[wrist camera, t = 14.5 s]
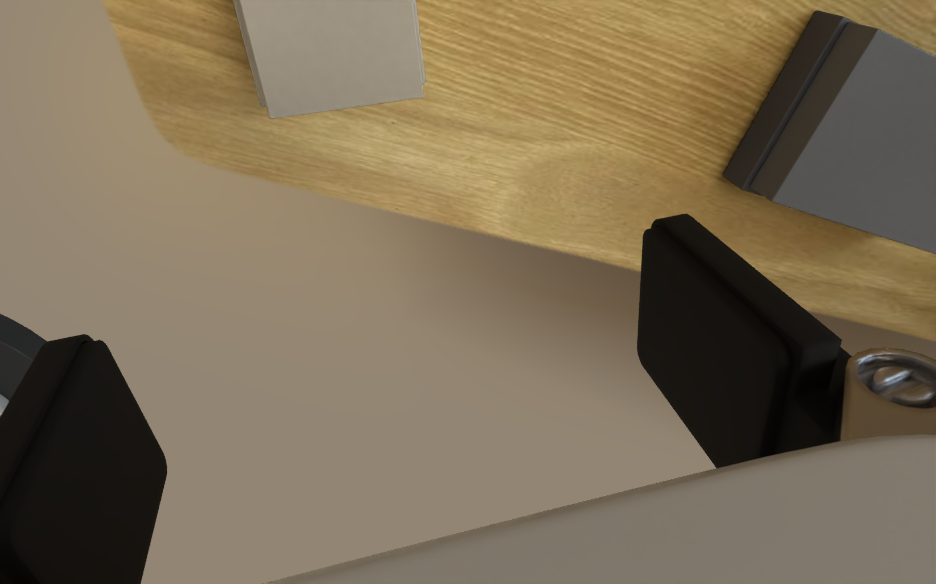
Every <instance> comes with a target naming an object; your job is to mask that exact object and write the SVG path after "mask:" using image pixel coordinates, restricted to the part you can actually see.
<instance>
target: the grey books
mask: <svg viewBox="0 0 936 584" xmlns="http://www.w3.org/2000/svg"><path fill="white" fill-rule="evenodd" d="M723 177H725V178H726V179H728V180H729V181H730V182H732V183H733V184H735V185H736V186H738V187H739V188H740V189H742V190H745V191H748V192H751V193H754V194H758V195H761V196H764V197H765V198H767V199H768V200H770V201H771V202H774V203H777V204H780V205H783V206H786V207H790V208H793V209H796V210H799V211H802V212H805V213H809V214H812V215H815V216H818V217H821V218H824V219H827V220H831V221H834V222H837V223H840V224H843V225H846V226H849V227H853V228H856V229H859V230H862V231H865V232H868V233H871V234H875V235H878V236H881V237H884V238H887V239H890V240H893V241H897V242H900V243H903V244H906V245H909V246H912V247H915V248H919V249H922V250H925V251H928V252H931V253H934V254H936V56H934V55H932V54H930V53H928V52H926V51H924V50H922V49H919V48H917V47H915V46H913V45H911V44H909V43H907V42H905V41H903V40H901V39H899V38H896V37H894V36H892V35H890V34H888V33H886V32H884V31H882V30H880V29H877V28H873V27H869V26H865V25H861V24H858V23H856V22H853V21H851V20H849V19H847V18H845V17H842V16H838V15H834V14H830V13H826V12H822V11H816V12H815V14H814V16H813V17H812V19H811V21H810V23H809V24H808V26H807V28H806V30H805V31H804V33H803V35H802V37H801V38H800V40H799V42H798V44H797V45H796V47H795V49H794V51H793V52H792V54H791V56H790V58H789V59H788V61H787V63H786V65H785V66H784V68H783V70H782V72H781V73H780V75H779V77H778V79H777V80H776V82H775V84H774V86H773V87H772V89H771V91H770V93H769V94H768V96H767V98H766V100H765V102H764V103H763V105H762V107H761V109H760V110H759V112H758V114H757V116H756V117H755V119H754V121H753V123H752V124H751V126H750V128H749V130H748V131H747V133H746V135H745V137H744V138H743V140H742V142H741V144H740V145H739V147H738V149H737V151H736V152H735V154H734V156H733V158H732V159H731V161H730V163H729V165H728V166H727V168H726V170H725V172H724V173H723Z"/></svg>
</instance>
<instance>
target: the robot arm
mask: <svg viewBox="0 0 936 584" xmlns="http://www.w3.org/2000/svg"><path fill="white" fill-rule="evenodd" d="M841 341H842V340H841V339H840V338H839V337H838V336H836V335H835V334H834V333H833V332H832V331H830V330H829V329H828V328H827V327H826V326H824V325H823V324H822V323H821V322H819V321H818V320H817V319H816V318H814V317H813V316H812V315H811V314H810V313H808V312H807V311H806V310H805V309H804V308H802V307H801V306H800V305H799V304H797V303H796V302H795V301H794V300H793V299H791V298H790V297H789V296H788V295H787V294H785V293H784V292H783V291H782V290H780V289H779V288H778V287H777V286H776V285H774V284H773V283H772V282H771V281H769V280H768V279H767V278H766V277H765V276H763V275H762V274H761V273H760V272H758V271H757V270H756V269H755V268H754V267H752V266H751V265H750V264H749V263H747V262H746V261H745V260H744V259H743V258H741V257H740V256H739V255H738V254H737V253H735V252H734V251H733V250H732V249H730V248H729V247H728V246H727V245H726V244H724V243H723V242H722V241H721V240H719V239H718V238H717V237H716V236H715V235H713V234H712V233H711V232H710V231H708V230H707V229H706V228H705V227H704V226H702V225H701V224H700V223H699V222H697V221H696V220H695V219H694V218H693V217H691V216H690V215H688V214H681V215H676V216H671V217H666V218H661V219H656V220H655V221H654V222H653V224H652V226H651V229H647V230H646V231H645V232H644V234H643V245H642V264H641V283H640V302H639V320H638V340H637V351H638V356H639V359H640V362H641V364H642V366H643V367H644V369H645V370H646V371H647V373H648V374H649V375H650V377H651V378H652V379H653V381H654V382H655V384H656V385H657V387H658V388H659V389H660V391H661V392H662V393H663V395H664V396H665V398H666V399H667V400H668V402H669V403H670V404H671V406H672V407H673V409H674V410H675V411H676V413H677V414H678V415H679V417H680V418H681V420H682V421H683V422H684V424H685V425H686V427H687V428H688V429H689V431H690V432H691V434H692V435H693V436H694V438H695V439H696V440H697V442H698V443H699V445H700V446H701V447H702V449H703V450H704V451H705V453H706V454H707V456H708V457H709V458H710V460H711V461H712V463H713V464H714V465H715V467H716V468H717V469H713V470H708V471H704V472H700V473H696V474H691V475H687V476H683V477H679V478H675V479H671V480H668V481H663V482H659V483H656V484H651V485H647V486H643V487H639V488H635V489H631V490H627V491H624V492H619V493H615V494H612V495H607V496H603V497H599V498H595V499H591V500H587V501H583V502H579V503H576V504H572V505H567V506H563V507H560V508H555V509H552V510H547V511H543V512H540V513H535V514H532V515H528V516H524V517H520V518H516V519H512V520H509V521H504V522H500V523H497V524H492V525H489V526H485V527H481V528H477V529H473V530H469V531H465V532H461V533H457V534H453V535H449V536H445V537H442V538H438V539H434V540H430V541H426V542H422V543H418V544H414V545H410V546H407V547H402V548H399V549H395V550H391V551H387V552H383V553H379V554H375V555H372V556H367V557H364V558H360V559H356V560H352V561H348V562H344V563H340V564H337V565H333V566H329V567H325V568H321V569H318V570H314V571H310V572H306V573H302V574H299V575H295V576H291V577H287V578H283V579H280V580H275V581H271V582H268V583H264V584H936V360H934V359H932V358H930V357H928V356H925V355H923V354H919V353H916V352H912V351H908V350H904V349H895V348H887V347H884V348H870V349H867V350H864V351H861V352H857V353H856V354H855V355H853V356H851V355H849V354H848V353H847V352H846V351H845V350H843V349H842V348H841V347H840V345H841ZM166 476H167V464H166V459H165V456H164V453H163V451H162V449H161V448H160V446H159V444H158V442H157V440H156V438H155V436H154V435H153V432H152V430H151V428H150V427H149V425H148V423H147V421H146V419H145V417H144V415H143V413H142V412H141V410H140V407H139V406H138V404H137V402H136V400H135V398H134V396H133V394H132V392H131V390H130V388H129V387H128V385H127V383H126V381H125V379H124V377H123V375H122V373H121V372H120V369H119V367H118V366H117V364H116V362H115V360H114V358H113V356H112V354H111V352H110V350H109V348H108V347H107V345H106V344H105V343H104V342H103V341H101V340H98V341H94V340H93V339H92V338H91V337H89V336H88V335H85V334H83V335H78V336H73V337H68V338H63V339H58V340H53V341H48V342H45V343H44V344H43V346H42V347H41V349H40V350H39V352H38V354H37V355H36V357H35V359H34V360H33V362H32V364H31V365H30V367H29V369H28V371H27V372H26V374H25V376H24V377H23V379H22V381H21V382H20V384H19V386H18V387H17V389H16V391H15V393H14V394H13V396H12V398H11V399H10V401H9V400H8V399H6V398H5V397H4V396H2V395H1V394H0V584H141V580H142V576H143V571H144V567H145V563H146V559H147V555H148V550H149V546H150V542H151V538H152V534H153V530H154V526H155V522H156V517H157V514H158V509H159V505H160V501H161V497H162V492H163V488H164V484H165V480H166Z"/></svg>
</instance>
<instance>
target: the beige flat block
mask: <svg viewBox="0 0 936 584" xmlns="http://www.w3.org/2000/svg"><path fill="white" fill-rule="evenodd" d="M239 2H240V6H241V10H242V13H243V17H244V21H245V25H246V29H247V33H248V37H249V40H250V44H251V48H252V52H253V56H254V60H255V64H256V67H257V71H258V75H259V79H260V83H261V87H262V91H263V94H264V98H265V102H266V106H267V110H268V114H269V118H270V119H275V118H282V117H289V116H296V115H303V114H310V113H317V112H325V111H332V110H339V109H346V108H353V107H360V106H367V105H374V104H381V103H388V102H395V101H402V100H410V99H417V98H423V97H424V95H423V87H422V78H421V70H420V62H419V53H418V45H417V37H416V29H415V20H414V12H413V4H412V0H239Z"/></svg>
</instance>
